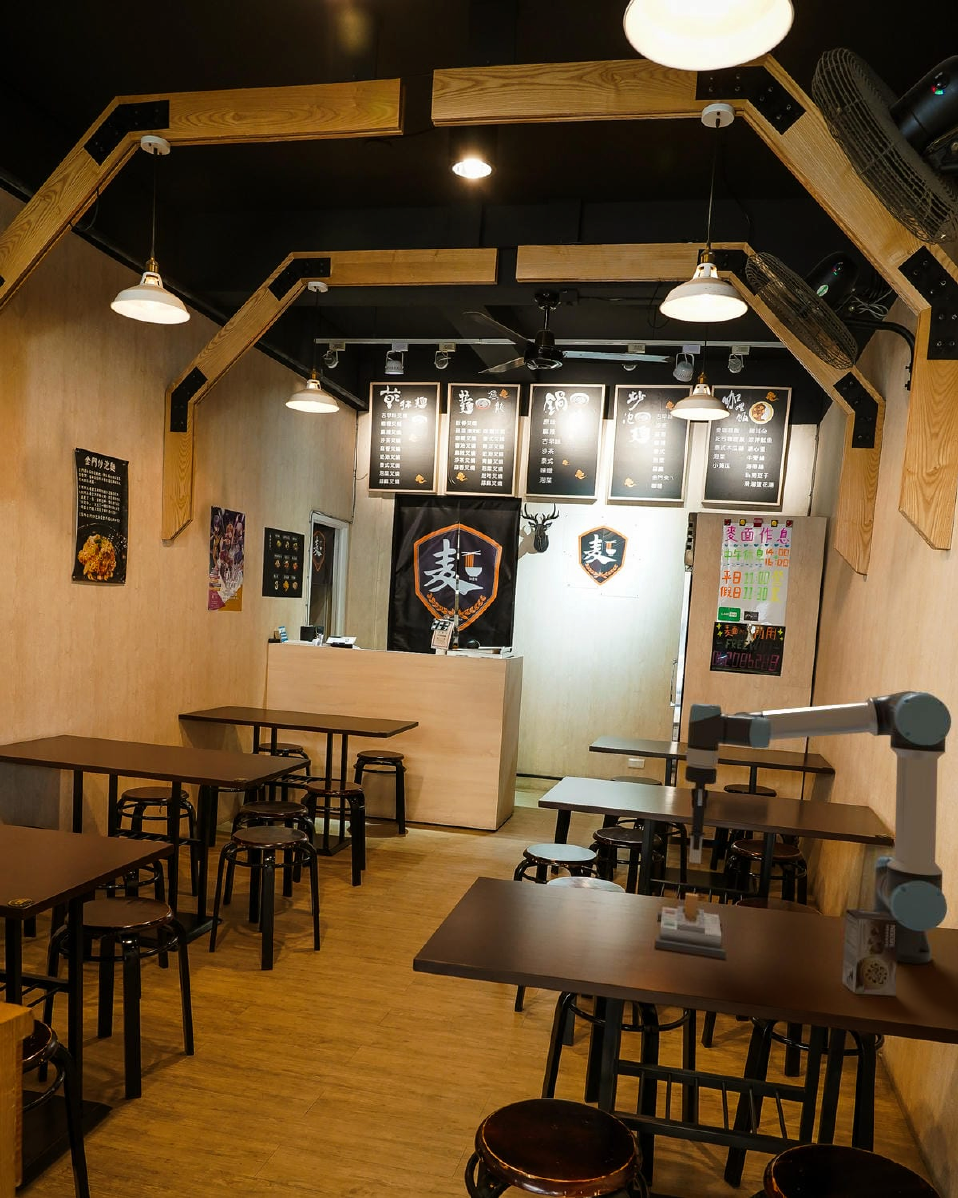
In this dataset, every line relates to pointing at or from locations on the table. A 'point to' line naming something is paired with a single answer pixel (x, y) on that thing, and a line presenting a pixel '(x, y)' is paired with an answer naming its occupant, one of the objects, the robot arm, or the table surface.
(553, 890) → the table surface
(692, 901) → the lever
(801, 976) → the table surface
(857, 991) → the coffee box
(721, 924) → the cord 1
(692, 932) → the panel
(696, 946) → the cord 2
